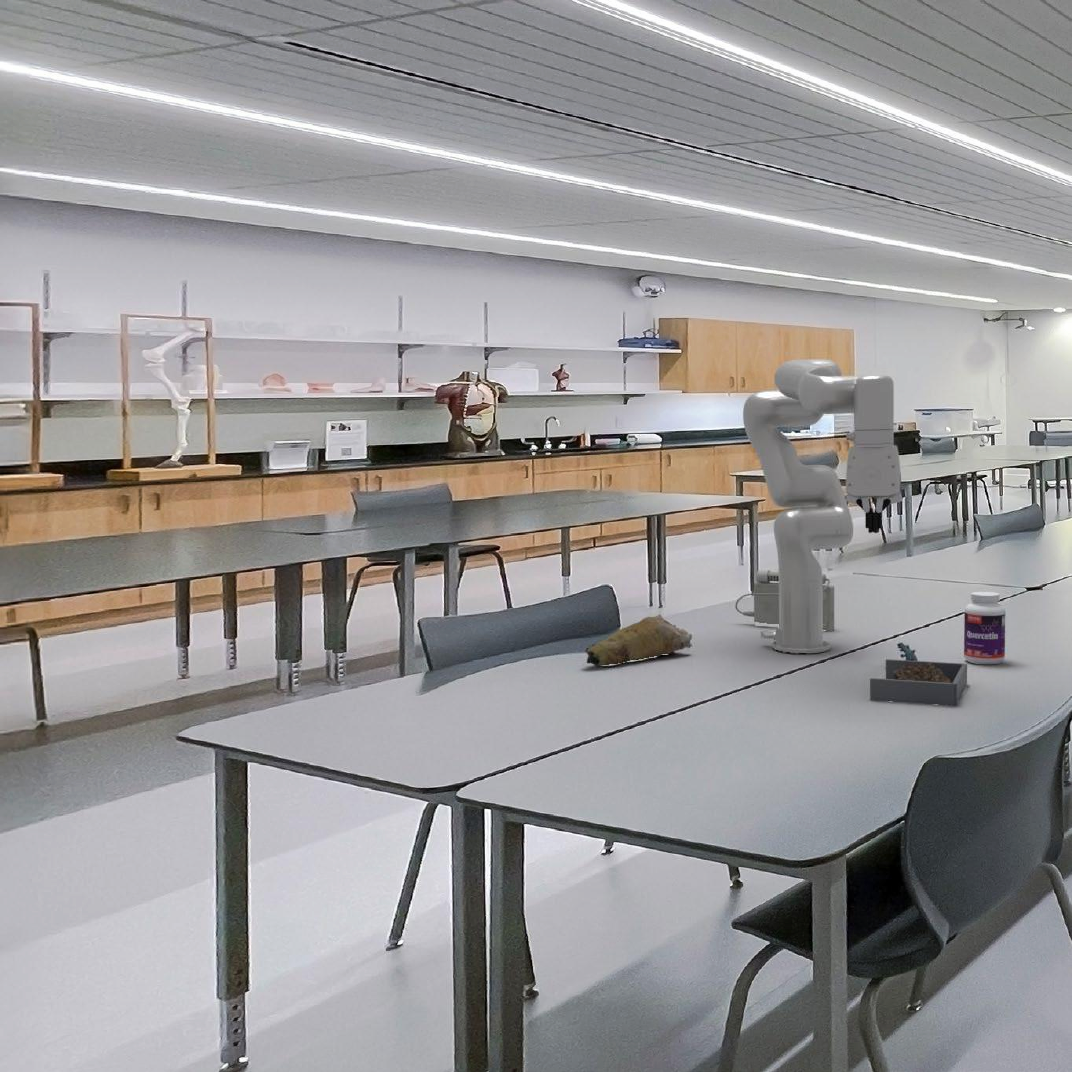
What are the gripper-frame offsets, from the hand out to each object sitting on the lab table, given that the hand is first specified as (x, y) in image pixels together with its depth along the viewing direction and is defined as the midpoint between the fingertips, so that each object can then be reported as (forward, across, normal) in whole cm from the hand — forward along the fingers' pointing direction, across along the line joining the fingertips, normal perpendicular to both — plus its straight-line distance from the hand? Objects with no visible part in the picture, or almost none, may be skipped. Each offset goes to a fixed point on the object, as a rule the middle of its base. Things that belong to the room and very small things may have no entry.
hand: (873, 532), depth 247 cm
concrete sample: (+30, +11, -11) cm, 33 cm away
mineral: (+30, -51, +2) cm, 59 cm away
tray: (+29, +10, -10) cm, 33 cm away
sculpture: (+30, +5, +10) cm, 32 cm away
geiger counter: (+29, -30, +49) cm, 65 cm away
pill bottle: (+29, +19, +21) cm, 41 cm away
